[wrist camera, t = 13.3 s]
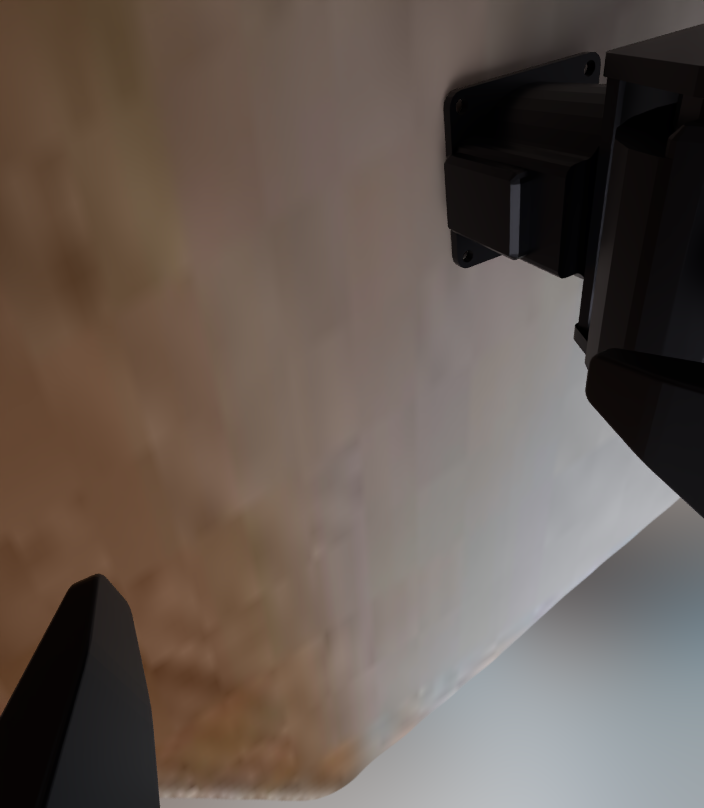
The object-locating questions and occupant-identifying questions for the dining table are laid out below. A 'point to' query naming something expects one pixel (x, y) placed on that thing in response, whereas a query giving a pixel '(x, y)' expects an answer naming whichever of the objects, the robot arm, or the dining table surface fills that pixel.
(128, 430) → the dining table surface
